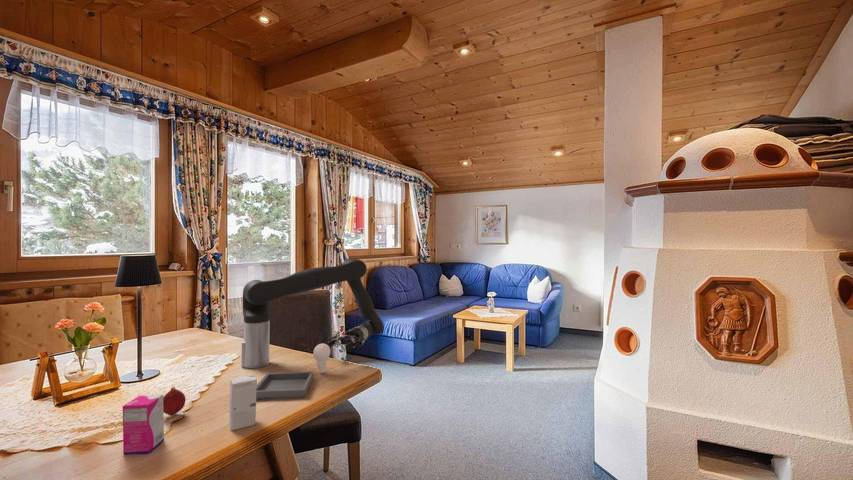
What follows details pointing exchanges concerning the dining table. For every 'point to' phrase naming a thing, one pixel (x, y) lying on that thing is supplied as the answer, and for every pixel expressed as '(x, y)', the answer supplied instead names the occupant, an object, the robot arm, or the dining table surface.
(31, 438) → the dining table surface
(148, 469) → the dining table surface
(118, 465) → the dining table surface
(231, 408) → the skincare box
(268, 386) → the parts tray
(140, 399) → the supplement box
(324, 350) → the lightbulb
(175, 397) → the onion
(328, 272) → the robot arm
